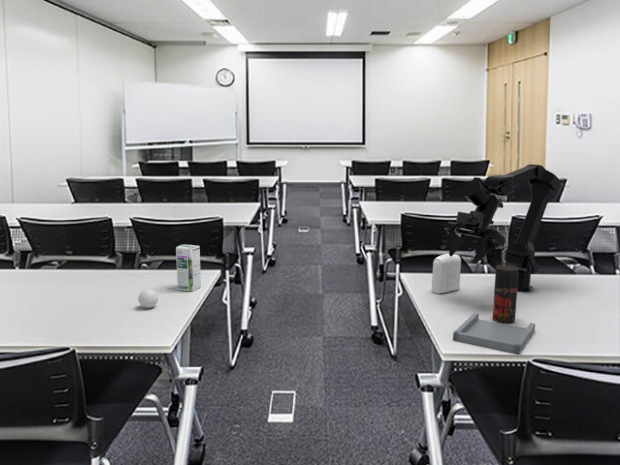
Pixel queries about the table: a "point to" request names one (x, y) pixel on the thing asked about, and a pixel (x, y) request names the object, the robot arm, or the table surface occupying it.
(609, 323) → the table surface
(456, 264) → the photo printer
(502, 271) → the deodorant
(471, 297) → the table surface
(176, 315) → the table surface
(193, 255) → the syrup box
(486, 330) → the tray
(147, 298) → the white bumpy ovoid
